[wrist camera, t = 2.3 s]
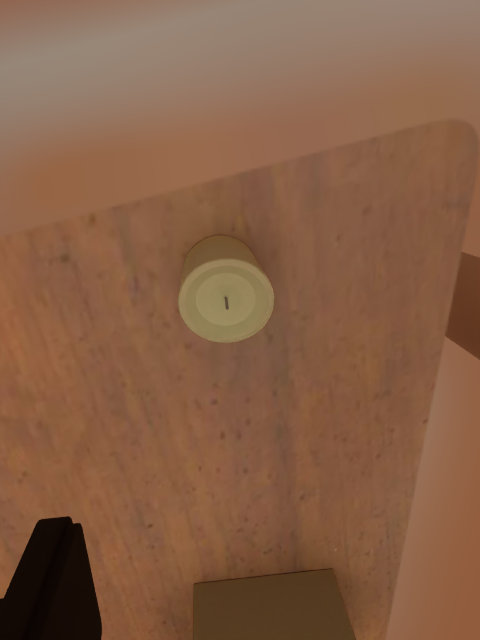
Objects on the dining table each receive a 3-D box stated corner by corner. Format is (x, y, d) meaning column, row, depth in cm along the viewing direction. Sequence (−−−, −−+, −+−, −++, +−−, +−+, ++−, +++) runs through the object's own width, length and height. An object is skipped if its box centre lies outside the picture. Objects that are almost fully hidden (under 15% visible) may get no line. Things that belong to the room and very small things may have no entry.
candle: (252, 311, 32) (269, 357, 24) (180, 304, 31) (173, 350, 24) (262, 239, 30) (283, 263, 23) (186, 230, 30) (181, 253, 22)
